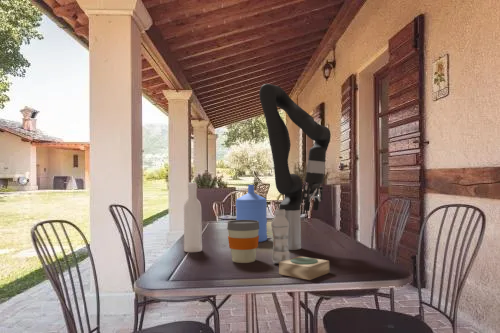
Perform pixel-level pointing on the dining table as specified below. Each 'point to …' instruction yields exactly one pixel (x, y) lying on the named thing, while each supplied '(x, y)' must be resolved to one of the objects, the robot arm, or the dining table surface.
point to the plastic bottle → (280, 237)
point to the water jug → (253, 211)
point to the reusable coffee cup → (243, 240)
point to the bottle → (192, 221)
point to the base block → (304, 267)
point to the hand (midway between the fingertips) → (311, 210)
